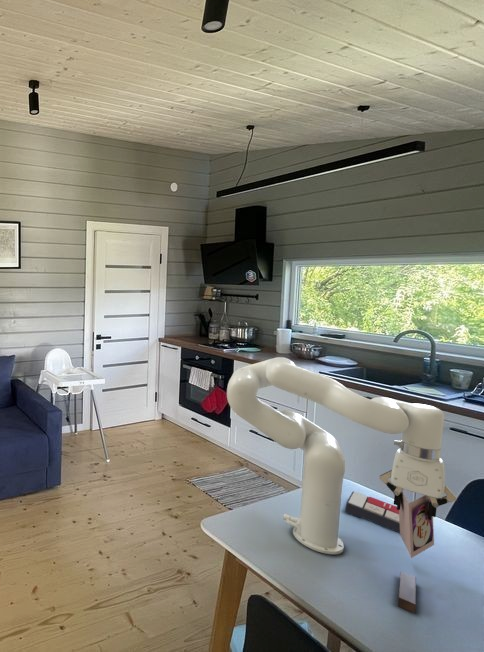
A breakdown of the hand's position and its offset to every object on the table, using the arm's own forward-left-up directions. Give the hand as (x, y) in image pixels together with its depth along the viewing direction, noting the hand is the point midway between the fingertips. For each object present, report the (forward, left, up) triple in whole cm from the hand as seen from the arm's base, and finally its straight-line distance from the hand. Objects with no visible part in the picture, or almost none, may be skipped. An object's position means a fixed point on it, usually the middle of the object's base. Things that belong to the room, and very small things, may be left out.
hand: (413, 512), depth 110 cm
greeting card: (0, 0, -10) cm, 10 cm away
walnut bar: (0, -13, -17) cm, 21 cm away
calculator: (-8, +25, -17) cm, 31 cm away
